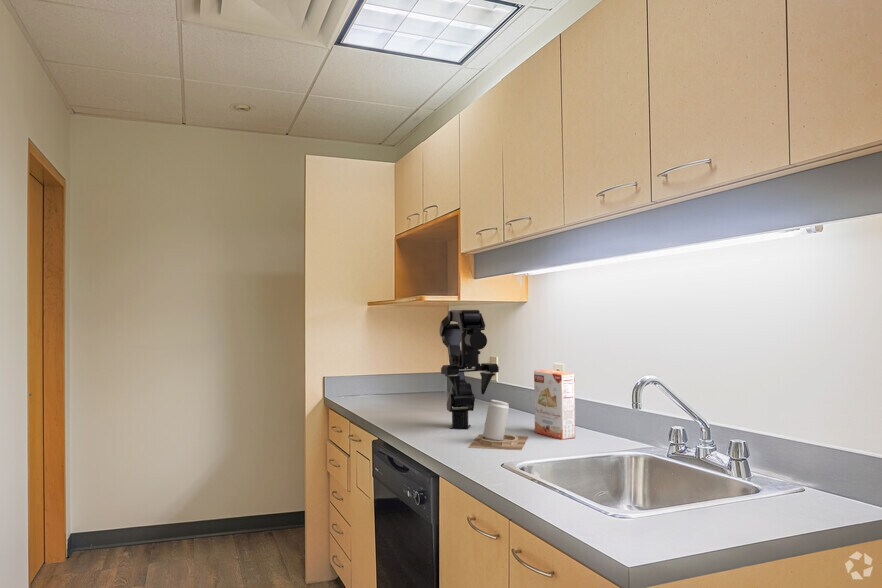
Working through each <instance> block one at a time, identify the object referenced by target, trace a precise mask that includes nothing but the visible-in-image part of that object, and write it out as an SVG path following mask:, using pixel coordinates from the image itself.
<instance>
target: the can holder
mask: <svg viewBox="0 0 882 588" xmlns="http://www.w3.org/2000/svg"><path fill="white" fill-rule="evenodd" d="M528 439H529V435H513V434H508V433H504V438H503V440H502V441H490V440H487V439H485V437H484V436H483V433H482V434H480V433H479V434H478V435H477V436H476V437H475V438H474V439H473V441H472V442H471V443H470V444H469V445H468V447H467V449H485V450H486V449H487V450H504V451H505V450H506V451H507V450H508V451H509V450H510V451H522V450H523V448H524V447H525V445H526V442H527V441H528Z"/></svg>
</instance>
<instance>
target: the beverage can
mask: <svg viewBox="0 0 882 588" xmlns="http://www.w3.org/2000/svg"><path fill="white" fill-rule="evenodd" d="M509 405H510V403H509V402H506V401H502V400H497V399H490V402H489V403H488V407H487V411H486V412H487V413H486V417H485V421H484V429H483V433H482V434H483V436H484V437H485V439H487V440H490V441H502V440H503V438H504V434H506V433H505V432H506V427H507V422H508V417H509V412H510V406H509Z"/></svg>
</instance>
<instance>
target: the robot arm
mask: <svg viewBox="0 0 882 588" xmlns="http://www.w3.org/2000/svg"><path fill="white" fill-rule="evenodd" d="M451 322H456V323H451ZM485 330H486V323H485V320H484V317H483V314H482V313H481V312H480V310H479V309H457V310H456V309H451V310H448V311H447V315H446V316H445V317H444V318H443V319H442V320H441V322H440V326H439V337H441V340H442V341H441V342H442V343H443V345H444V346H445V347H446V349H447V353H448V362H449V364H445V365H444V364H443V365H442V367H441V368H440V373H441V375H444V376H445V377H446V378H447V377H448V379H449V381H450V382H451V384H452V386H451V388H450V390H449V393H448V398H447V402H446V410H447V411H448V412H450V413H451V426H450V427H449V429H450V430H469V429H470V428H471V427H472V426H471V424H469V412H470V411H471V412H474V408H475V402H476V401H475V400H476V397H475V395H474V392H473V390H472V384H471V383H470V382H467V380H466V377H465V373H469V372H470V373H471V372H479V374H480V377H481V381H480V383H481V386H480V392H481V395H485V393H486V391H487V389H488V386H489V384H490V382H491V380H492V378H493V376H496V373H499V372H500V371H499V369H500V366H499V365H498V364H497V363H494V362H482V363H480V362H479V359H480V358H479V355H481V350H483V349H484V348H485V347H486V346H487V344H488V338H487V336H486V334H485V333H484V332H482V331H485Z"/></svg>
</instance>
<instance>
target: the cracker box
mask: <svg viewBox="0 0 882 588" xmlns="http://www.w3.org/2000/svg"><path fill="white" fill-rule="evenodd" d="M533 380H534V381H533V387H534V388H533V389H534V390H533V391H534V393H533V394H534V432H535V433H536V434H540V435H544V436H547V437H551V438H554V439H558V440H561V441H563V440H570V439H575V438H576V396H575V395H576V394H575V393H576V392H575V390H576V388H575V387H576V386H575V385H576V384H575V381H576V380H575V373H573V372H565V371H559V370H553V369H536V370H534V371H533Z"/></svg>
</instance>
